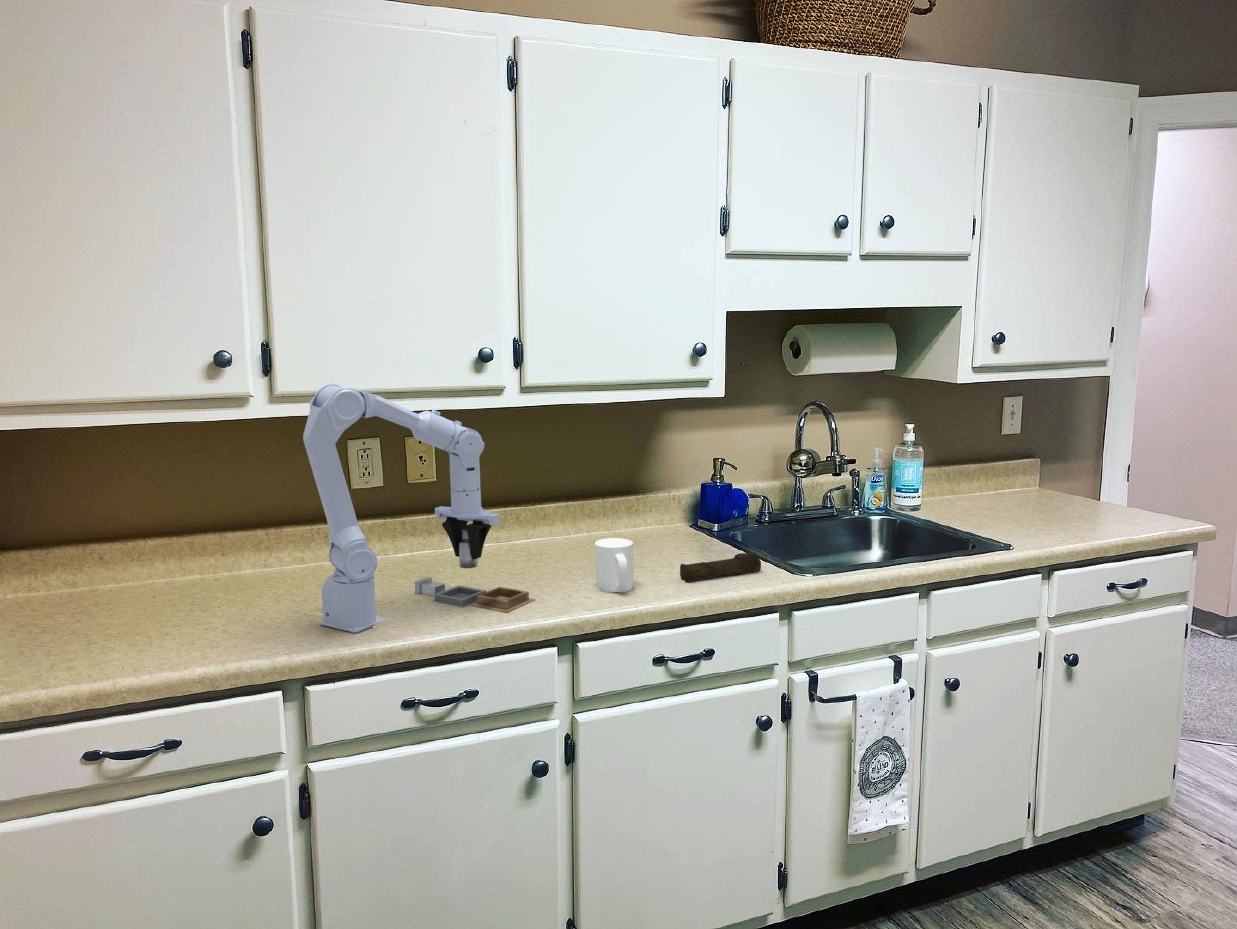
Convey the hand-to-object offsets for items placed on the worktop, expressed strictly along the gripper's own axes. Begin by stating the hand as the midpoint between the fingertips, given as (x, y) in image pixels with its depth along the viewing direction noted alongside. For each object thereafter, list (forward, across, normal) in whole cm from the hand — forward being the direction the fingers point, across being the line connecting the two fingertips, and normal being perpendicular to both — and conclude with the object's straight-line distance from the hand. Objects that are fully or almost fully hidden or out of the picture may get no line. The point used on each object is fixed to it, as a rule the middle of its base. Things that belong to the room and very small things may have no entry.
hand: (468, 556), depth 188 cm
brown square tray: (+9, -7, -1) cm, 12 cm away
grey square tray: (+9, +2, 0) cm, 10 cm away
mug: (+10, -20, -22) cm, 32 cm away
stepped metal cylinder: (+2, 0, 0) cm, 2 cm away
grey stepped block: (+9, +10, 0) cm, 14 cm away
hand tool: (+10, -35, -41) cm, 55 cm away
